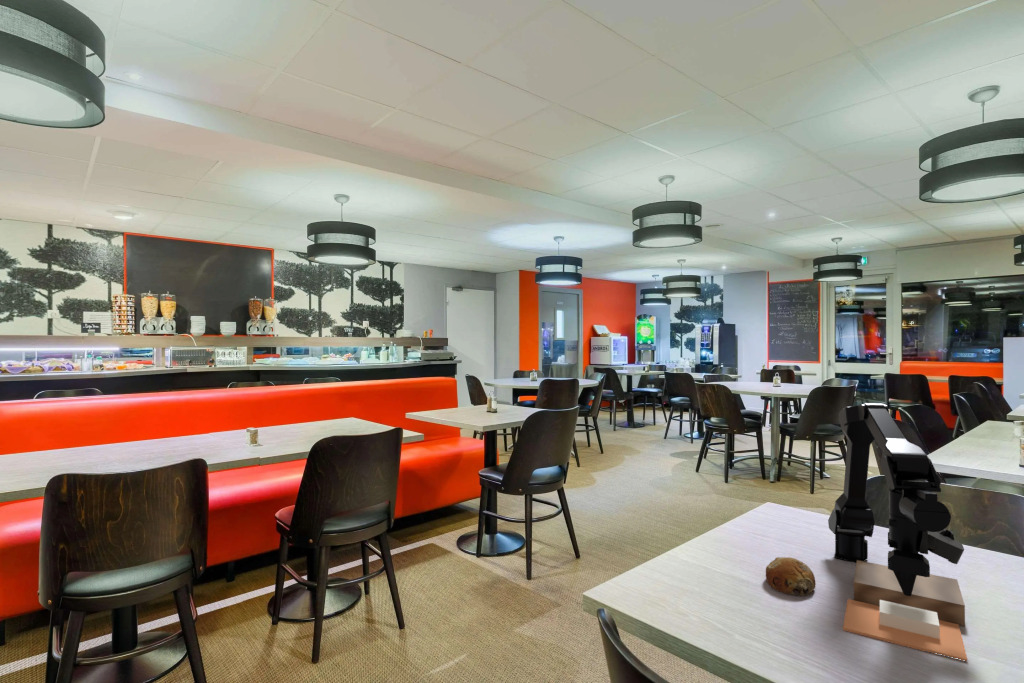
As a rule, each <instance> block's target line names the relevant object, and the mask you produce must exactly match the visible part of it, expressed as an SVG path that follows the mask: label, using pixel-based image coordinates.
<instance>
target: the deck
mask: <svg viewBox="0 0 1024 683" xmlns="http://www.w3.org/2000/svg"><path fill="white" fill-rule="evenodd" d="M855 563H856V564H855V570H854V577H853V600H855V601H859V602H864V603H868V604H872V605H877V606H880V600H884V601H888V602H892V603H897V604H901V605H906V606H910V607H915V608H919V609H924V610H928V611H933V612H937V615H938V620H941V621H946V622H950V623H954V624H959V626H961V627H966V606H965V602H964V598H963V594H962V591H961V588H960V585H959V581H958V579H957V578H953V577H952V578H951V577H946V576H940V575H936V574H931V573H930V577H923V576H918V575H917V576H916V580H915V583H914V587H913V591H912V594H911V596H906V595H904V593H903V591H902V589H901V587H900V585H899V582H898V580H897V578H896V576H895V574H894V572H893V571H892V570H890V569H888V565H884V564H878V563H873V562H868V561H865V562H864V561H859V560H857V562H855Z"/></svg>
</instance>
